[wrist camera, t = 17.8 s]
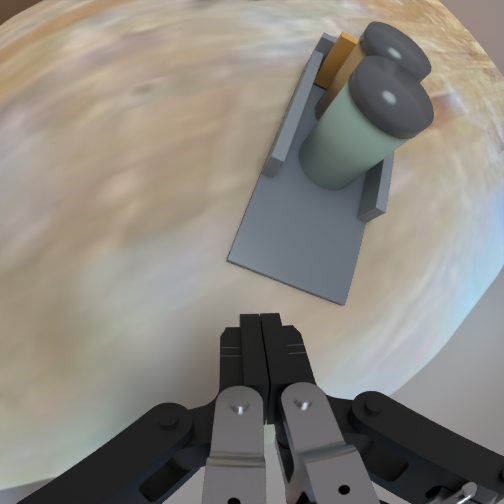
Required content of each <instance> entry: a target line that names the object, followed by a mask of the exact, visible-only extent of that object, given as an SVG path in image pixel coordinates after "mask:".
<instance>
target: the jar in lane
mask: <svg viewBox="0 0 504 504" xmlns="http://www.w3.org/2000/svg"><path fill="white" fill-rule="evenodd" d="M371 55H375V56H381V57H385V58H387V59H390V60H392V61H394V62H396V63H397V64H399V65H400V66H402V67H403V68H405V69H406V70H407V71H408V72H410V73H411V74H412V75H413V76H414V77H415V78H416V79H417V80H418V82H419V83H420V82H421V81H422V80H423V79H424V78H425V77H426V76H427V75H428V74H429V73H430V72H431V65H430V62H429V60H428V58H427V56H426V55H425V53H424V52H423V51H422V50H421V48H420V47H419V46H418V45H417V44H416V43H415V42H414V41H413V40H412V39H410V38H409V37H408V36H407V35H405V34H404V33H402V32H401V31H399V30H398V29H396V28H394V27H392V26H390V25H388V24H385V23H382V22H371V23H370V24H369V25H368V26H367V28H366V29H365V31H364V32H363V34H362V35H361V37H360V39H359V42H358V43H357V45H356V46H355V47H354V49H353V50H352V52H351V53H350V55H349V56H348V58H347V59H346V61H345V62H344V63H343V65H342V66H341V68H340V69H339V71H338V72H337V74H336V75H335V77H334V78H333V80H332V81H331V83H330V84H329V86H328V87H327V89H326V90H325V92H324V93H323V95H322V96H321V98H320V99H319V101H318V102H317V104H316V106H315V116H316V119H317V121H318V120H319V119H320V118H321V116H322V115H323V114H324V112H325V111H326V110H327V108H328V107H329V106H330V104H331V103H332V101H333V100H334V99H335V97H336V96H337V95H338V93H339V92H340V91H341V89H342V88H343V87H344V85H345V84H346V83H347V81H348V80H349V77H350V75H351V73H352V72H353V71H354V69H355V68H356V67H357V65H358V64H359V63H360V61H361V60H362V59H363V58H364V57H366V56H371Z"/></svg>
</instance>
